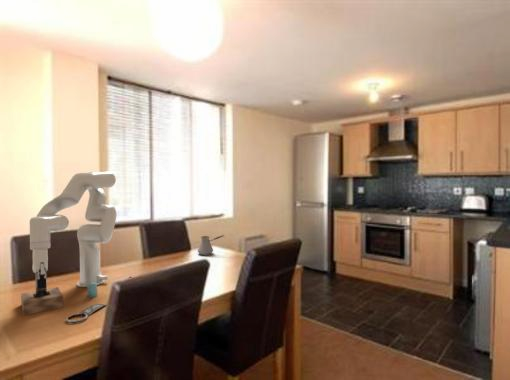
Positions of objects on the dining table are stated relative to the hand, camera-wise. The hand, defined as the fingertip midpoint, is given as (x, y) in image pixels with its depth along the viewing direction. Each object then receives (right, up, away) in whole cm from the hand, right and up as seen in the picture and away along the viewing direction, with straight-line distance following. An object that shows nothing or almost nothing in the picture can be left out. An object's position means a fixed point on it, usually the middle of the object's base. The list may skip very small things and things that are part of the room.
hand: (41, 286), depth 143 cm
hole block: (0, -9, +1) cm, 9 cm away
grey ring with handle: (+24, -10, -8) cm, 27 cm away
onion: (+33, -8, +17) cm, 38 cm away
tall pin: (0, -5, 0) cm, 5 cm away
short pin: (+16, -8, +12) cm, 22 cm away
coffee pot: (+62, -5, +96) cm, 115 cm away
